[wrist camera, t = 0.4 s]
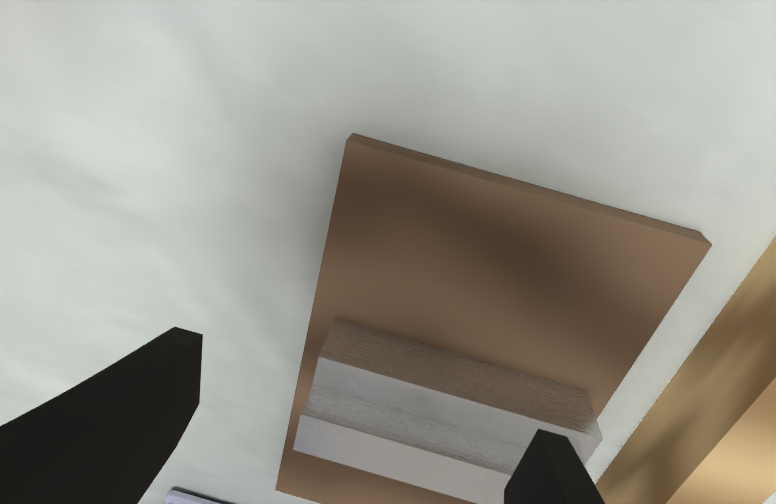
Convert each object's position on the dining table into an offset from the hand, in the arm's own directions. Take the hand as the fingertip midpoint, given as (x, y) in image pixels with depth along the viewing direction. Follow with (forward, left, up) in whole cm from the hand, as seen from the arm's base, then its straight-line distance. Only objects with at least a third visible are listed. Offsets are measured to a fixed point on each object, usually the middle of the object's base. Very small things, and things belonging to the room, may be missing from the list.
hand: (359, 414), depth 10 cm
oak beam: (-7, -14, -10) cm, 19 cm away
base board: (-7, -4, -10) cm, 13 cm away
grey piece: (-7, -4, -10) cm, 13 cm away
